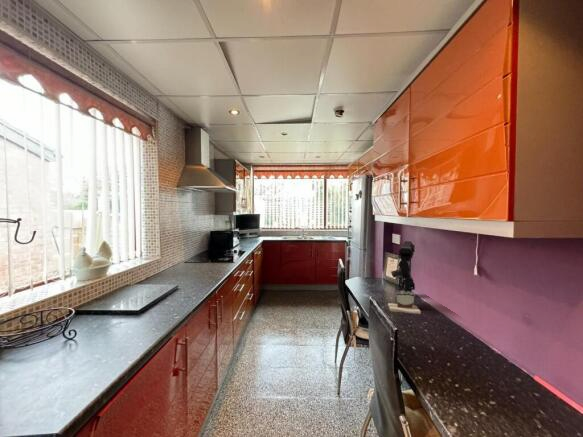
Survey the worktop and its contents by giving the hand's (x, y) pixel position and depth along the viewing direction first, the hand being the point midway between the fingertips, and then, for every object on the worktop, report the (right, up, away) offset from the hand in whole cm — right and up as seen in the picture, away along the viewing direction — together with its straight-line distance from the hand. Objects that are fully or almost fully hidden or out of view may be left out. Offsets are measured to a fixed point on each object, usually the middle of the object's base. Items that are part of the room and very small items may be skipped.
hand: (404, 289), depth 174 cm
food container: (+1, -12, +2) cm, 12 cm away
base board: (0, -13, 0) cm, 13 cm away
